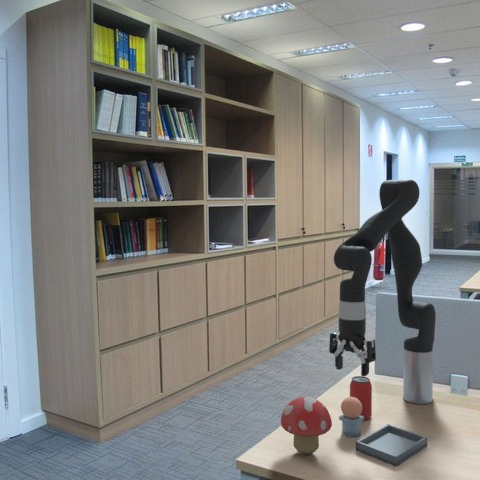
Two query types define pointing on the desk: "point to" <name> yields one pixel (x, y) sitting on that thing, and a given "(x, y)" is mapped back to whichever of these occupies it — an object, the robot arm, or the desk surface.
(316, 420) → the decorative mushroom
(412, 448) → the tray
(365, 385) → the beer can
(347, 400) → the ball
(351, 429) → the square to round adapter
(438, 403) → the desk surface
